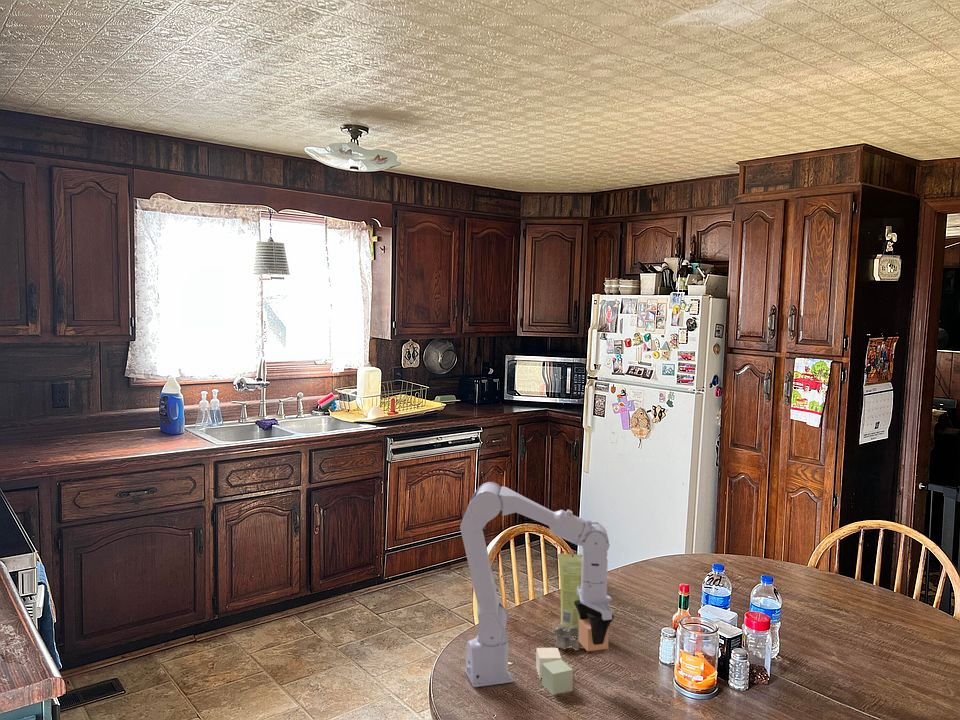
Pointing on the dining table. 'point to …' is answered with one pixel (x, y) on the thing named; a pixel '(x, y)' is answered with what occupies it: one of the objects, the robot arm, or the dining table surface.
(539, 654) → the cream block
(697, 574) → the dining table surface
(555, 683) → the sage block
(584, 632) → the terracotta block
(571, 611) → the tube
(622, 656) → the dining table surface
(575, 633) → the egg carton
